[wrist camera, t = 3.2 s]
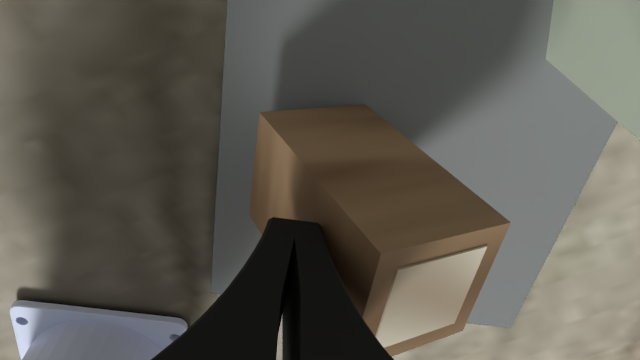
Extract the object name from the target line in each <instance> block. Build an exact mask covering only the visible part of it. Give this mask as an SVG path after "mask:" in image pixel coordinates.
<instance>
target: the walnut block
mask: <svg viewBox="0 0 640 360" xmlns="http://www.w3.org/2000/svg"><path fill="white" fill-rule="evenodd" d="M249 215H250V217H251V219H252V220H253V222H254V223H255V225H256V227H257V228H258V230H259V231H260V233H261V235H263V232H264V230H265V228H266V225H267V222H268V220H269V219H270V218H272V217H276V218H284V219H292V220H300V221H308V222H316V223H319V225H320V226H321V227H322V232H323V236H324V239H325V242H326V245H327V248H328V250H329V253H330V256H331V258H332V260H333V263H334V265H335V267H336V270H337V272H338V274H339V276H340V278H341V280H342V282H343V284H344V286H345V288H346V290H347V292H348V294H349V296H350V297H351V299H352V301H353V303H354V305H355V306H356V308H357V310H358V311H359V313H360V315H361V316H362V318H363V319H364V321H365V322H366V324H367V325H368V327H369V328H370V330H371V331H372V333H373V334H374V335H375V337H376V338H377V339H378V341H379V342H380V344H381V345H382V346H383V348H384V349H385V350H386V351H387V352H388V354H389V355H390V356H394V355H397V354H400V353H402V352H405V351H408V350H411V349H414V348H416V347H419V346H422V345H425V344H427V343H430V342H433V341H436V340H438V339H441V338H444V337H447V336H449V335H452V334H455V333H458V332H460V331H463V329H464V327H465V324H466V322H467V320H468V318H469V315H470V313H471V311H472V309H473V306H474V304H475V302H476V300H477V298H478V295H479V293H480V291H481V289H482V286H483V284H484V282H485V280H486V277H487V275H488V273H489V271H490V268H491V266H492V264H493V262H494V259H495V257H496V255H497V253H498V251H499V248H500V246H501V244H502V242H503V239H504V237H505V235H506V233H507V230H508V228H509V226H510V224H511V222H510V221H508V220H507V219H506V218H505V217H504V216H502V215H501V214H500V213H499V212H497V211H496V210H495V209H494V208H492V207H491V206H490V205H489V204H488V203H486V202H485V201H484V200H483V199H481V198H480V197H479V196H478V195H476V194H475V193H474V192H473V191H472V190H470V189H469V188H468V187H467V186H465V185H464V184H463V183H462V182H460V181H459V180H458V179H457V178H455V177H454V176H453V175H452V174H451V173H449V172H448V171H447V170H446V169H444V168H443V167H442V166H441V165H439V164H438V163H437V162H436V161H435V160H433V159H432V158H431V157H430V156H428V155H427V154H426V153H425V152H423V151H422V150H421V149H420V148H418V147H417V146H416V145H415V144H414V143H412V142H411V141H410V140H409V139H407V138H406V137H405V136H404V135H402V134H401V133H400V132H399V131H398V130H396V129H395V128H394V127H393V126H391V125H390V124H389V123H388V122H386V121H385V120H384V119H383V118H381V117H380V116H379V115H378V114H377V113H375V112H374V111H373V110H372V109H370V108H369V107H368V106H367V105H352V106H338V107H324V108H310V109H296V110H282V111H268V112H259V121H258V131H257V140H256V150H255V160H254V170H253V179H252V189H251V199H250V209H249Z"/></svg>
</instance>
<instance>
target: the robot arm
mask: <svg viewBox="0 0 640 360" xmlns="http://www.w3.org/2000/svg"><path fill="white" fill-rule="evenodd" d="M9 312H10V316H11V320H12V324H13V328H14V333H15V337H16V341H17V345H18V349H19V354H20V358H21V360H276V352H277V339H278V332H279V327H280V322H281V317H282V312H283V360H394V359H393V358H392V357H391V356H390V355H389V354H388V352H387V351H386V350H385V349H384V348H383V346H382V345H381V344H380V342H379V341H378V339H377V338H376V337H375V335H374V334H373V333H372V331H371V330H370V328H369V327H368V325H367V324H366V322H365V321H364V319H363V318H362V316H361V315H360V313H359V311H358V310H357V308H356V306H355V305H354V303H353V301H352V299H351V297H350V296H349V294H348V292H347V290H346V288H345V286H344V284H343V282H342V280H341V278H340V276H339V274H338V272H337V270H336V267H335V265H334V263H333V260H332V258H331V256H330V253H329V250H328V248H327V245H326V242H325V239H324V236H323V232H322V227H321V226H320V225H319V223H316V222H308V221H300V220H292V219H284V218H276V217H272V218H270V219H269V220H268V222H267V225H266V228H265V230H264V232H263V235H262V237H261V239H260V240H259V242H258V244H257V246H256V248H255V249H254V251H253V252H252V254H251V255H250V257H249V258H248V260H247V262H246V263H245V265H244V266H243V268H242V269H241V270H240V272H239V273H238V274H237V276H236V277H235V278H234V280H233V281H232V282H231V283H230V285H229V286H228V287H227V289H226V290H225V291H224V292H223V293H222V295H221V296H220V297H219V298H218V299H217V300H216V301H215V302H214V303H213V305H212V306H211V307H210V308H209V309H208V310H207V311H206V312H205V313H204V314H203V315H202V316H201V317H200V318H199V319H198V320H197V321H196V322H195V323H194V324H193V325H192V326H191V327H190V328H188V326H187V323H186V322H185V321H184V320H183V319H181V318H176V317H167V316H159V315H150V314H141V313H132V312H123V311H114V310H106V309H97V308H88V307H79V306H70V305H61V304H52V303H44V302H35V301H26V300H18V301H15V302H14V303H13V305H12V306H11V307H10V311H9ZM175 334H176V335H175Z"/></svg>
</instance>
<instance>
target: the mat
mask: <svg viewBox="0 0 640 360" xmlns="http://www.w3.org/2000/svg"><path fill="white" fill-rule="evenodd" d="M553 1H554V0H227V17H226V34H225V51H224V68H223V85H222V103H221V120H220V137H219V154H218V171H217V188H216V205H215V223H214V240H213V257H212V274H211V291H210V293H215V294H222V293H223V292H224V291H225V290H226V289H227V287H228V286H229V285H230V283H231V282H232V281H233V280H234V278H235V277H236V276H237V274H238V273H239V272H240V270H241V269H242V268H243V266H244V265H245V263H246V262H247V260H248V258H249V257H250V255H251V254H252V252H253V251H254V249H255V248H256V246H257V244H258V242H259V240H260V239H261V237H262V235H261V233H260V231H259V230H258V228H257V227H256V225H255V223H254V222H253V220H252V219H251V217H250V215H249V209H250V199H251V189H252V179H253V170H254V160H255V150H256V140H257V131H258V121H259V112H268V111H282V110H296V109H310V108H324V107H338V106H352V105H367V106H368V107H369V108H370V109H372V110H373V111H374V112H375V113H377V114H378V115H379V116H380V117H381V118H383V119H384V120H385V121H386V122H388V123H389V124H390V125H391V126H393V127H394V128H395V129H396V130H398V131H399V132H400V133H401V134H402V135H404V136H405V137H406V138H407V139H409V140H410V141H411V142H412V143H414V144H415V145H416V146H417V147H418V148H420V149H421V150H422V151H423V152H425V153H426V154H427V155H428V156H430V157H431V158H432V159H433V160H435V161H436V162H437V163H438V164H439V165H441V166H442V167H443V168H444V169H446V170H447V171H448V172H449V173H451V174H452V175H453V176H454V177H455V178H457V179H458V180H459V181H460V182H462V183H463V184H464V185H465V186H467V187H468V188H469V189H470V190H472V191H473V192H474V193H475V194H476V195H478V196H479V197H480V198H481V199H483V200H484V201H485V202H486V203H488V204H489V205H490V206H491V207H492V208H494V209H495V210H496V211H497V212H499V213H500V214H501V215H502V216H504V217H505V218H506V219H507V220H508V221H510V222H511V224H510V226H509V228H508V230H507V233H506V235H505V237H504V239H503V242H502V244H501V246H500V248H499V251H498V253H497V255H496V257H495V259H494V262H493V264H492V266H491V268H490V271H489V273H488V275H487V277H486V280H485V282H484V284H483V286H482V289H481V291H480V293H479V295H478V298H477V300H476V302H475V304H474V306H473V309H472V311H471V313H470V315H469V318H468V320H467V322H466V323H470V324H478V325H487V326H495V327H504V328H511V326H512V324H513V323H514V321H515V319H516V317H517V315H518V313H519V311H520V309H521V307H522V305H523V303H524V301H525V299H526V297H527V296H528V294H529V292H530V290H531V288H532V286H533V284H534V282H535V280H536V278H537V276H538V274H539V272H540V270H541V269H542V267H543V265H544V263H545V261H546V259H547V257H548V255H549V253H550V251H551V249H552V247H553V245H554V243H555V241H556V240H557V238H558V236H559V234H560V232H561V230H562V228H563V226H564V224H565V222H566V220H567V218H568V216H569V214H570V213H571V211H572V209H573V207H574V205H575V203H576V201H577V199H578V197H579V195H580V193H581V191H582V189H583V187H584V186H585V184H586V182H587V180H588V178H589V176H590V174H591V172H592V170H593V168H594V166H595V164H596V162H597V160H598V159H599V157H600V155H601V153H602V151H603V149H604V147H605V145H606V143H607V141H608V139H609V137H610V135H611V133H612V131H613V130H614V128H615V126H616V124H617V121H616V120H615V119H614V118H613V117H612V116H611V115H609V114H608V113H607V112H606V111H605V110H604V109H603V108H601V107H600V106H599V105H598V104H597V103H596V102H594V101H593V100H592V99H591V98H590V97H589V96H588V95H586V94H585V93H584V92H583V91H582V90H581V89H580V88H578V87H577V86H576V85H575V84H574V83H573V82H571V81H570V80H569V79H568V78H567V77H566V76H565V75H563V74H562V73H561V72H560V71H559V70H558V69H557V68H555V67H554V66H553V65H552V64H551V63H550V62H549V61H547V60H546V53H547V46H548V39H549V31H550V24H551V16H552V9H553Z"/></svg>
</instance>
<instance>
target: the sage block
mask: <svg viewBox="0 0 640 360" xmlns="http://www.w3.org/2000/svg"><path fill="white" fill-rule="evenodd" d="M546 60H547V61H549V62H550V63H551V64H552V65H553V66H554V67H555V68H557V69H558V70H559V71H560V72H561V73H562V74H563V75H565V76H566V77H567V78H568V79H569V80H570V81H571V82H573V83H574V84H575V85H576V86H577V87H578V88H580V89H581V90H582V91H583V92H584V93H585V94H586V95H588V96H589V97H590V98H591V99H592V100H593V101H594V102H596V103H597V104H598V105H599V106H600V107H601V108H603V109H604V110H605V111H606V112H607V113H608V114H609V115H611V116H612V117H613V118H614V119H615V120H616V121H617V122H619V123H620V124H621V125H622V126H623V127H624V128H625V129H627V130H628V131H629V132H630V133H631V134H632V135H634V136H635V137H636V138H637V139H638V140H639V141H640V0H554V1H553V9H552V16H551V24H550V31H549V39H548V46H547V53H546Z"/></svg>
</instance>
